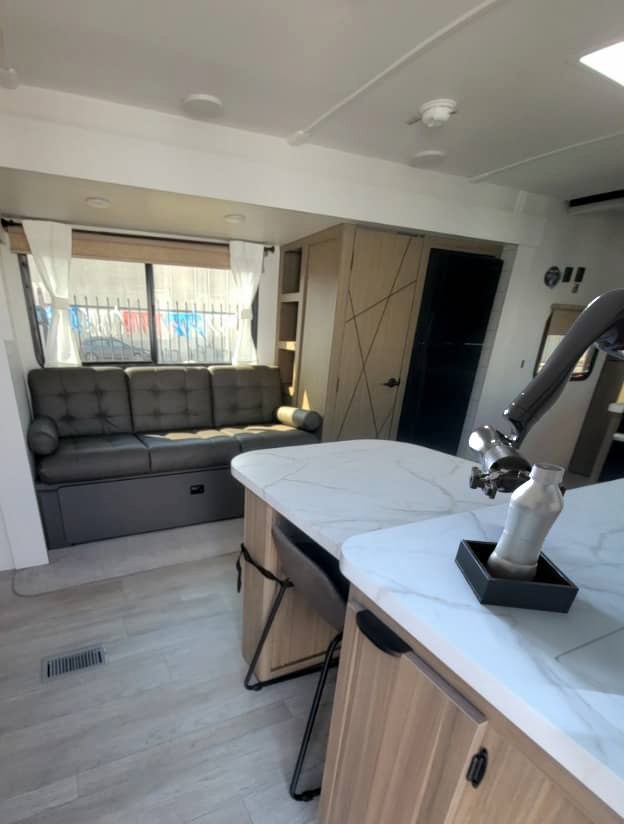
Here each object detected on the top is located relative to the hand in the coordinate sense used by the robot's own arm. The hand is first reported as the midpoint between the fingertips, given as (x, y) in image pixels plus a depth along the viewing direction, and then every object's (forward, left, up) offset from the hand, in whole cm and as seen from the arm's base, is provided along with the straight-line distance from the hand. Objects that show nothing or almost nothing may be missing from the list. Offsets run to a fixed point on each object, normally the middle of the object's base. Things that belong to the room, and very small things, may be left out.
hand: (522, 498), depth 67 cm
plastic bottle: (+2, +6, -13) cm, 14 cm away
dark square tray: (+1, +7, -13) cm, 15 cm away
